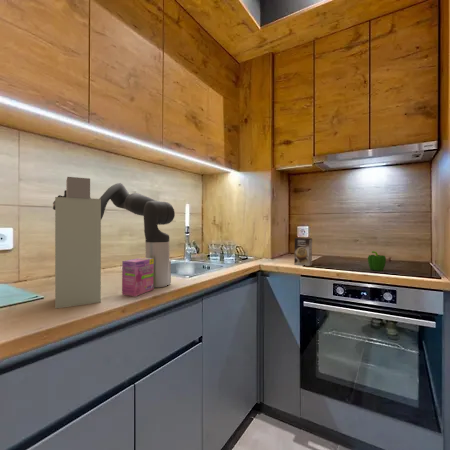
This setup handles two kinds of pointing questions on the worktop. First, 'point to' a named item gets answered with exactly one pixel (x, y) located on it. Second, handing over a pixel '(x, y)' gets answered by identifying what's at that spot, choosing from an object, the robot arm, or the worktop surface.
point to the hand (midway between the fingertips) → (75, 191)
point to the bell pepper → (376, 261)
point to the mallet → (77, 187)
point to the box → (137, 276)
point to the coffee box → (303, 251)
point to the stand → (77, 251)
